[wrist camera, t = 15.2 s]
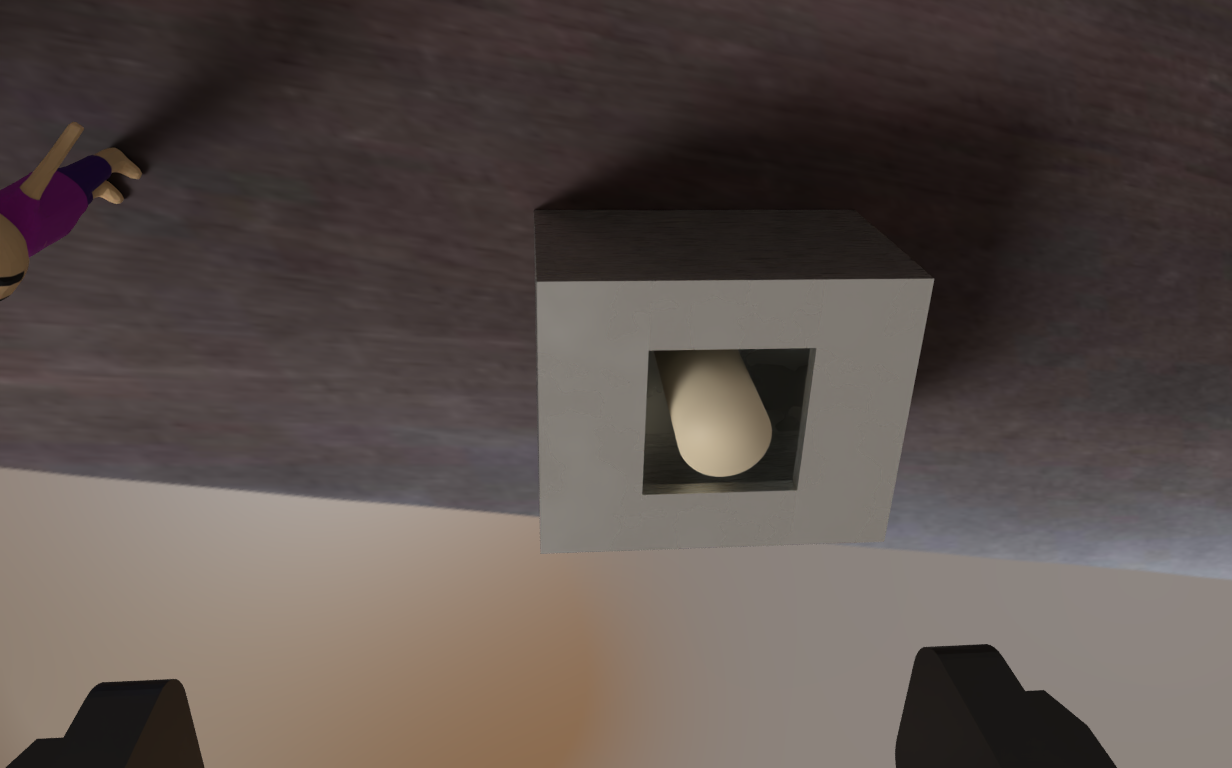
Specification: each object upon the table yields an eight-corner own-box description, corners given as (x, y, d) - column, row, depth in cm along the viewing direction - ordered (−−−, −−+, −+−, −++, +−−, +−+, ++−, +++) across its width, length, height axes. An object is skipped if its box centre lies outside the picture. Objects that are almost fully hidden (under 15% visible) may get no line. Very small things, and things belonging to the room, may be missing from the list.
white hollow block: (854, 209, 46) (934, 278, 37) (821, 435, 52) (884, 541, 43) (533, 210, 44) (536, 281, 35) (537, 441, 50) (540, 553, 41)
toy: (85, 275, 44) (-109, 429, 30) (-27, 199, 42) (-288, 328, 28) (209, 111, 41) (55, 201, 28) (94, 21, 39) (-131, 70, 26)
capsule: (731, 303, 46) (775, 392, 38) (726, 373, 48) (767, 475, 39) (653, 304, 46) (679, 395, 37) (651, 375, 48) (675, 478, 39)
